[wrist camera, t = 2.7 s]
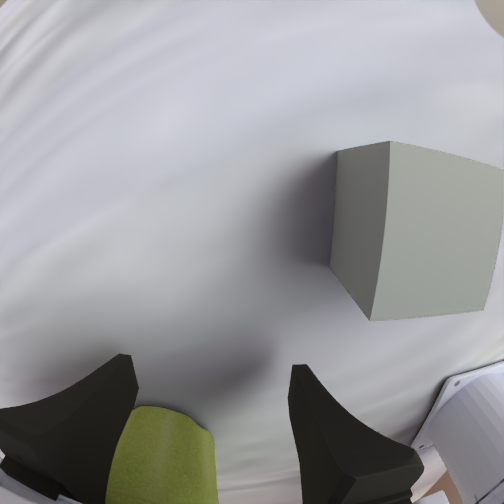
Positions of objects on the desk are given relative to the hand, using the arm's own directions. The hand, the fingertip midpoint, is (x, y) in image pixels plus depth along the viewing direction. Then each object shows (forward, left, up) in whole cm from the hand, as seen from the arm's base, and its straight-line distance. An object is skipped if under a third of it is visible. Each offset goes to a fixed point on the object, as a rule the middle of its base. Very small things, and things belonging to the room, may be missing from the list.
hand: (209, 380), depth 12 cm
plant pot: (+3, +7, -2) cm, 8 cm away
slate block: (-8, -7, -2) cm, 11 cm away
